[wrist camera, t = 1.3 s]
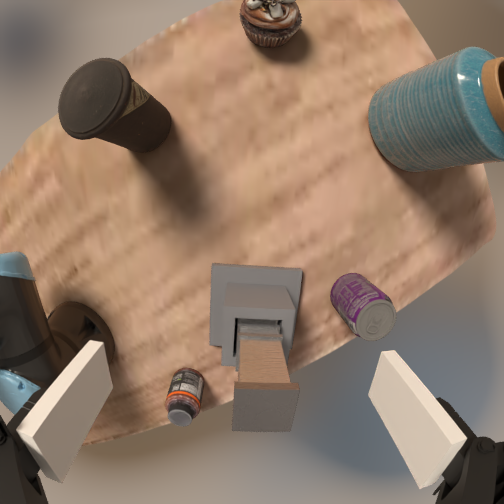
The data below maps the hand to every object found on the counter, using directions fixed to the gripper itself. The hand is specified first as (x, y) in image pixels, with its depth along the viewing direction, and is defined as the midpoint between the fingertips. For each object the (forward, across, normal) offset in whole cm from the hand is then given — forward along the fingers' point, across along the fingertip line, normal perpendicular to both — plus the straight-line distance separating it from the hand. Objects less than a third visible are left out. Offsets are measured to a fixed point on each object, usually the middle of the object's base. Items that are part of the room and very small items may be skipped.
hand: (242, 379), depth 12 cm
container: (+34, -16, +18) cm, 42 cm away
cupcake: (+34, +2, +36) cm, 50 cm away
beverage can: (+34, +18, -8) cm, 40 cm away
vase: (+34, +27, +22) cm, 49 cm away
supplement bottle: (+34, -9, -26) cm, 44 cm away
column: (+32, +2, -11) cm, 34 cm away
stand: (+34, +2, -11) cm, 36 cm away
